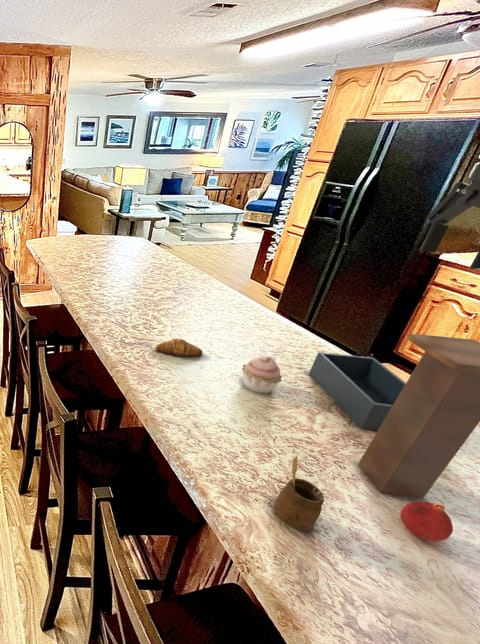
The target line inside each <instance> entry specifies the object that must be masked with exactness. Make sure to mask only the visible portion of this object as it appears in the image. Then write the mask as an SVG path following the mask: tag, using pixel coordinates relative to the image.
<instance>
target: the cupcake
mask: <svg viewBox="0 0 480 644" xmlns="http://www.w3.org/2000/svg"><path fill="white" fill-rule="evenodd" d="M241 372H242V375H243V376H242V384H243V386H244V388H247V389H248V390H249V391H251V392H253V393H257V394H261V395H263V394H264V395H265V394H269V393H271V391H272V390H273V389H274V388H275V387H276V386H277V385H279V384H280V383H282V382H283V379H282V378H283V376H282V375H281V370H280V367H279V365H278V363H277V362H276V360H275V359H274V358H272V357H271V356H268V355H264V356H260V357H253V358H251V359H250V360H249V361H248V362H247V363H246V364H242V367H241Z"/></svg>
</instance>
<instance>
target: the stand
mask: <svg viewBox="0 0 480 644" xmlns="http://www.w3.org/2000/svg"><path fill="white" fill-rule="evenodd" d="M407 341H409V342H410V343H412V344H414V345H415V346H416V347H418V348H420V349H421V350H423V351H424V352H423V355H422V356H421V357H420V359H419V361H418V362H417V363H416V366H415V368H414V369H413V371H412V373H411V374H410V376H409V378H407V379H408V380H407V381H406V382H405V383H406V384H405V386H404V388H403V389H402V391H401V393H400V394H399V396H398V398H397V399H396V401H395V403H394V404H393V406H392V408H391V409H390V411H389V413H388V414H387V416H386V418H385V419H384V421H383V423H382V425H381V426H380V428H379V430H378V431H376V433H375V434H374V436H373V437H372V439H371V441H370V443H369V445H368V446H367V448H366V450H365V451H364V453H363V455H362V456H361V458H360V460H359V462H358V463H357V466H358V467H359V469H360V470H361V471H362V472H363V473H364V474H365V476H366V478H368V479H369V481H370V482H371V483H372V484H373V486H374V487H375V488H376V489H377V490H378V492H379V493H380V494H384V495H391V496H398V497H404V498H411V499H416V500H417V499H418V500H423V499H424V498H425V496H426V495H427V494H428V493H429V491H430V490H431V488H432V487H433V486H434V484H435V483H436V482H437V480H438V479H439V478H440V476H441V475H442V473H443V472H444V471H445V470H446V468H447V467H448V465H449V464H450V463H451V461H452V460H453V459H454V457H455V456H456V455H457V453H458V452H459V450H460V449H462V446H463V445H464V444H465V442H466V441H467V440H468V439H469V437H470V435H472V433H473V431H474V430H475V429H476V427H477V426H478V425H479V424H480V341H478V340H476V339H471V338H460V337H451V336H450V337H449V336H439V335H430V334H429V335H428V334H418V333H409V335H408V336H407Z"/></svg>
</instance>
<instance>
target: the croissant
mask: <svg viewBox="0 0 480 644" xmlns="http://www.w3.org/2000/svg"><path fill="white" fill-rule="evenodd" d="M155 351H156V352H158V353H160V354H165V355H171V356H176V357H180V358H182V357H190V358H193V357H195V358H197V357H201V356H202V355H203V350H202V349H201V348H200V347H198V346H196V345H195V344H192V343H191V342H188V341H186V340H185V339H183V338H172V339H171V340H167V341H164V342H160V343H159V344H156V346H155Z"/></svg>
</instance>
